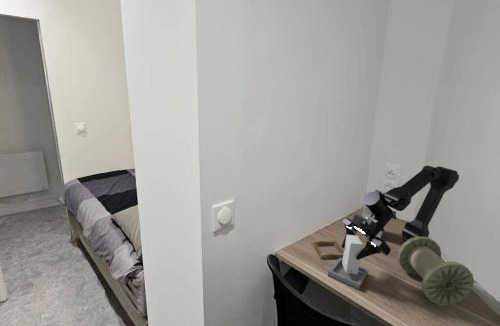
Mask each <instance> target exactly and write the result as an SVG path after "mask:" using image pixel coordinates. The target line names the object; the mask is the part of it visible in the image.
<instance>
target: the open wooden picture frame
mask: <svg viewBox="0 0 500 326" xmlns="http://www.w3.org/2000/svg"><path fill="white" fill-rule="evenodd" d="M311 245H312V247H313V249H314V250H315V252H316V253H317V256H318V257H319V259H320V260H321V259H339V258H342V259H343V254H344V249H343V248H342V246H340V244H338V242H337V241H336V240H311ZM319 246H334V248H335V249H336V251H338V253H337V252H336V253H335V252H334V253H322V250H320V249H321V248H319Z"/></svg>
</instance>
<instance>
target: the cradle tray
mask: <svg viewBox="0 0 500 326" xmlns="http://www.w3.org/2000/svg"><path fill="white" fill-rule="evenodd" d="M342 260H343V258H337V260H336V262H335V263H334V264H333V265H332V266H331V267H330V269H329V270H328V272H327V277H329V278H332V279H334V280H336V281H338V282H340V283H343V284H345V285H346V286H348V287H350V288H353V289H355V290H358V291H359V290H361V289H360V288H361V287H362V285H363V284H364V282H365V280H366V279H367V277H368V275H369V271H370V270H369V269H368V268H366V267H363V266H361V265H359V269H358V274H351V273H346V272H345V269H344V267H343V264H342Z"/></svg>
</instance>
